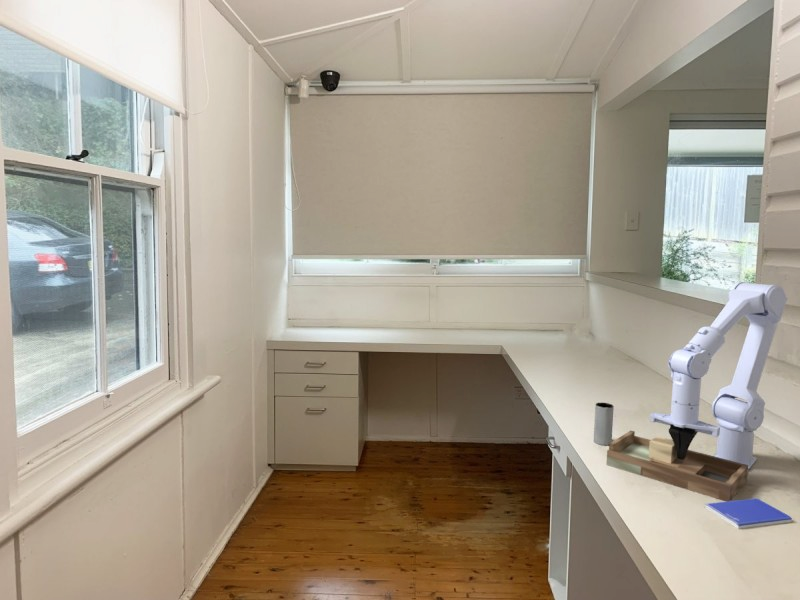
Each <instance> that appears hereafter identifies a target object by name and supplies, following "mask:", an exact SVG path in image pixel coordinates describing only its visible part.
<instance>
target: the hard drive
mask: <svg viewBox="0 0 800 600" xmlns="http://www.w3.org/2000/svg"><path fill="white" fill-rule="evenodd" d="M704 508H705V509H706V510H708V511H709V512H710V513H712V514H714V515H715V516H717V517H718V518H720V519H722V520H724V522H726V523H728V524H729V525H732V526H733V527H735V528H736V529H738V530H740V529H746V528H755V527H762V526H770V525H779V524H786V523H792V521H793V518H792V517H791V516H790V515H788V514H787V513H785V512H783V511H781V510H779V509H777V508H776V507H774V506H772V505H771V504H769V503H766V502H764V501H763V500H761V499H759V498H749V499H740V500H739V499H737V500H731V501H720V502H711V503H704Z"/></svg>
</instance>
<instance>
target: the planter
mask: <svg viewBox="0 0 800 600" xmlns="http://www.w3.org/2000/svg"><path fill="white" fill-rule="evenodd" d="M614 407H615V406H614V405H613V404H611V403H608V402H596V403H595V405H594V425H593V442H594V443H595V444H597V445H599V446H600V445H601V446H609V443H611V442H613V427H614V426H613V424H614V423H613V422H614V411H615V410H614V409H615V408H614Z"/></svg>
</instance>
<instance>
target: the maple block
mask: <svg viewBox="0 0 800 600" xmlns="http://www.w3.org/2000/svg"><path fill="white" fill-rule="evenodd" d="M650 440H651V441H650V442H649V458H653V459H656V460H660V461H664V462H667V463H672V462H673V461H674V460H675V459H677V454H676V449H675V445H674V442H673V440H672V438H671V439H670V438H667V437H662V436H659V435H656V436H655V437H653V438H652V439H650Z"/></svg>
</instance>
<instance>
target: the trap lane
mask: <svg viewBox="0 0 800 600" xmlns="http://www.w3.org/2000/svg"><path fill="white" fill-rule="evenodd" d="M635 433H636V432H635V430H634V431H633V430H630V431H628V432H626V433H624V434H623V435H621V436H619V437H618V438H616V439H614V440H612V442H611V443H609V445H608V446H609V447H608V450H606V462H605V463H606V465H607V466H610V467H613V468H615V469H618V470H622V471H626V472H628V473H632V474H635V475H639V476H643V477H646V478H649V479H651V480H655V481H659V482H662V483H666V484H668V485H671V486H674V487H678V488H681V489H684V490H689V491H692V492H694V493H698V494H701V495H704V496H707V497H711V498H714V499H718V500H720V501H722V502H727V501H733V499H734V497H735V496H736V494H737V493H738V492H739V491H740V489H741V488H743V486H744V485H745V483H746V482H747V481H748V474H749V473H748V472H749V470H748V465H746V464H742V463H738V462H734V461H730V460H726V459H722V458H719V457H715V456H714V455H712V454H707V453H702V452H699V451H695V450H691V449H688V450H687V453H686V458H685V459H684V460H681V459H675V460H674V461H673V462H672V463H667V462H664V461H660V460H656V459H653V458H649V442H650V441H651V440H652V439H649V438H645V437H641V436H637V435H635Z"/></svg>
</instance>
